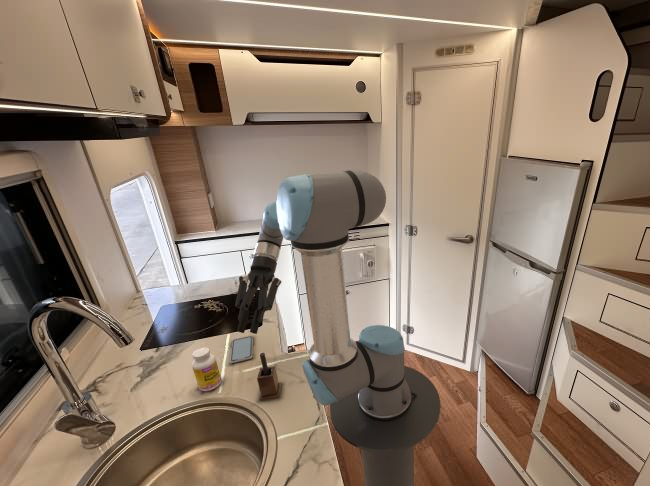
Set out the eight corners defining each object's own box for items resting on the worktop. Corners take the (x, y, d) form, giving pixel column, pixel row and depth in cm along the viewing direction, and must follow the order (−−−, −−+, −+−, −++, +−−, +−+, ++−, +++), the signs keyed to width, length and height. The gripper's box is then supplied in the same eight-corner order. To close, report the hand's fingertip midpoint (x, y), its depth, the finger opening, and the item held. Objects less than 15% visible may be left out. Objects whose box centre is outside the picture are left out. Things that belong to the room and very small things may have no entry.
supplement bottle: (206, 395, 98) (195, 361, 93) (195, 387, 101) (183, 354, 96) (226, 381, 103) (217, 349, 98) (214, 374, 107) (204, 343, 102)
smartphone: (252, 335, 126) (252, 356, 113) (253, 337, 126) (252, 358, 113) (232, 339, 124) (229, 362, 111) (233, 341, 124) (230, 364, 111)
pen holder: (281, 384, 101) (277, 364, 98) (279, 397, 96) (274, 376, 93) (263, 387, 100) (258, 367, 97) (259, 400, 95) (254, 379, 92)
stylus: (273, 387, 98) (265, 352, 93) (272, 391, 97) (264, 355, 92) (268, 388, 98) (260, 352, 93) (267, 392, 97) (259, 355, 92)
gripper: (294, 264, 103) (278, 336, 94) (248, 263, 106) (229, 333, 97) (284, 255, 96) (266, 332, 87) (235, 253, 99) (213, 328, 90)
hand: (246, 332), depth 92 cm, fingers open, 3 cm apart
